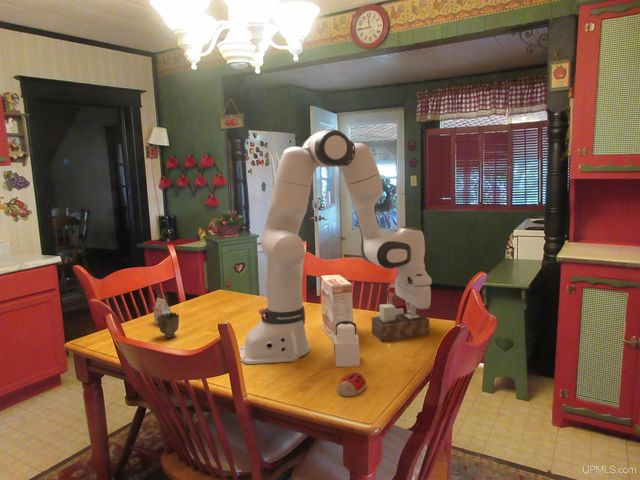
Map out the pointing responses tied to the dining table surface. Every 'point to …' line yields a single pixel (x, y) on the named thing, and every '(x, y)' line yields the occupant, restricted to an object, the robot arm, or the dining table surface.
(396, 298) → the soda can
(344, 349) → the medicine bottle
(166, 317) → the cup
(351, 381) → the ladybug figurine
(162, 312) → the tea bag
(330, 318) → the coffeecake box
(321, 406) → the dining table surface
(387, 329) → the walnut block
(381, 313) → the peg near sage
